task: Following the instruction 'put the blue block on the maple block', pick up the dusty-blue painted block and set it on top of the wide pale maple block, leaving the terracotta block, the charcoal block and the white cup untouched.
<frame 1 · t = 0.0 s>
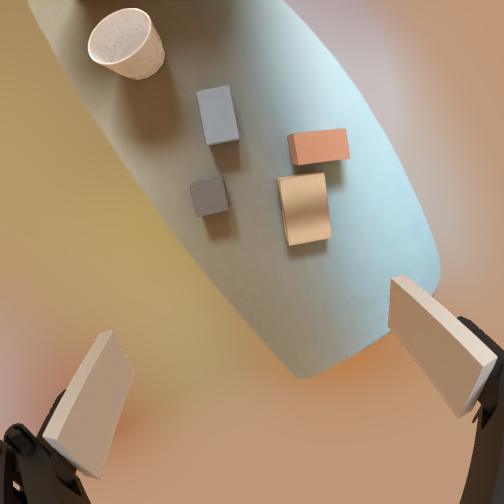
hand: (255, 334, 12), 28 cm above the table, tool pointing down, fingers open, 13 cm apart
white cup: (143, 60, 30), on the table
blue block: (219, 118, 34), on the table
charcoal block: (211, 193, 37), on the table
terracotta block: (313, 146, 36), on the table
maple block: (301, 205, 39), on the table
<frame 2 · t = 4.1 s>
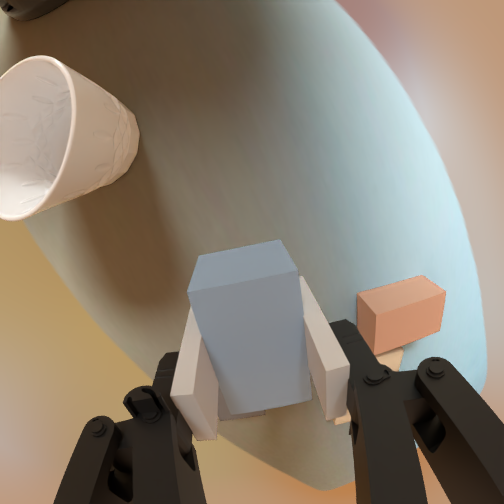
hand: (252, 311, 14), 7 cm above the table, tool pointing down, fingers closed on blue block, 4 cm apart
white cup: (101, 142, 18), on the table
blue block: (252, 309, 15), point 7 cm above the table, touching gripper
charcoal block: (236, 373, 24), on the table
terracotta block: (390, 302, 23), on the table
maple block: (358, 373, 26), on the table
when the fingers open (5 cm above the table, at t = 7.0 s): blue block drops 2 cm, resting on maple block.
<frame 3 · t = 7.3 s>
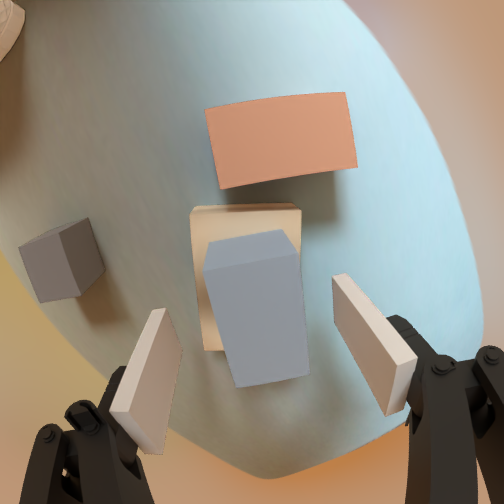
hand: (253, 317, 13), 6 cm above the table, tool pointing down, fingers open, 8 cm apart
white cup: (2, 38, 10), on the table
blue block: (256, 292, 16), point 3 cm above the table, touching maple block
charcoal block: (75, 249, 17), on the table
terracotta block: (273, 140, 16), on the table
maple block: (245, 269, 19), on the table, touching blue block
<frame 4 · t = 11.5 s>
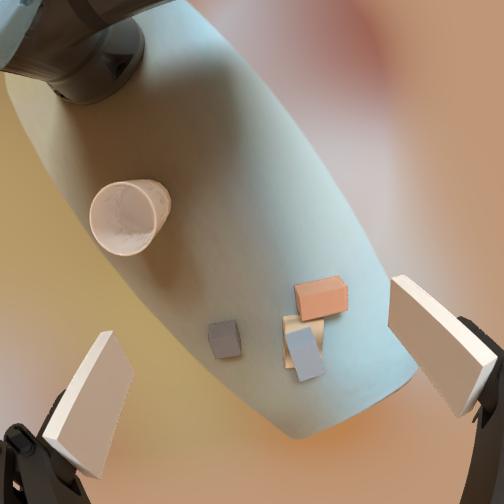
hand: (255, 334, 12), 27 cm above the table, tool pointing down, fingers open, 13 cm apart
white cup: (148, 203, 36), on the table
blue block: (302, 347, 42), point 3 cm above the table, touching maple block
charcoal block: (225, 331, 43), on the table
terracotta block: (317, 291, 42), on the table
maple block: (300, 334, 45), on the table, touching blue block
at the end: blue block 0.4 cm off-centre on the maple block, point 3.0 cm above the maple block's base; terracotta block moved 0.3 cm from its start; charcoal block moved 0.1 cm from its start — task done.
